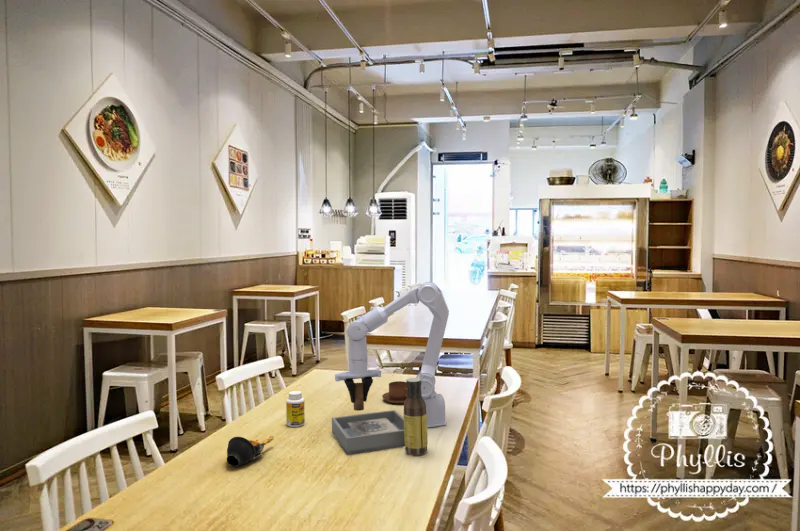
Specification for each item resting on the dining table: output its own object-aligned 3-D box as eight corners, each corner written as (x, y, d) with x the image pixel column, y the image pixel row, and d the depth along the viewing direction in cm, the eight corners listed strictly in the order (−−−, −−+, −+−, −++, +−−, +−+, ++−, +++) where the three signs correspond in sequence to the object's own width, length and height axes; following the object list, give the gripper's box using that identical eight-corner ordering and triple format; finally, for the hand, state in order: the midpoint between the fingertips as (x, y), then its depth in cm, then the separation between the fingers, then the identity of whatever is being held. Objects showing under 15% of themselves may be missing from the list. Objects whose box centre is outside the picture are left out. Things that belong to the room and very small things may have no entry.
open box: (394, 424, 166) (394, 410, 166) (416, 444, 149) (416, 428, 149) (331, 432, 159) (331, 417, 159) (347, 455, 143) (346, 438, 142)
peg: (362, 406, 170) (361, 382, 170) (365, 409, 167) (364, 384, 167) (352, 408, 169) (352, 383, 169) (355, 411, 166) (354, 385, 166)
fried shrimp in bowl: (212, 453, 134) (242, 415, 148) (232, 482, 136) (260, 442, 151) (236, 446, 131) (264, 407, 146) (256, 475, 134) (282, 435, 148)
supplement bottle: (290, 429, 163) (290, 396, 162) (283, 424, 167) (283, 391, 167) (307, 425, 166) (307, 393, 165) (300, 420, 170) (300, 389, 170)
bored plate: (385, 425, 162) (385, 417, 162) (399, 439, 151) (399, 430, 151) (347, 430, 158) (347, 422, 158) (358, 445, 147) (358, 436, 147)
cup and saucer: (422, 399, 193) (421, 382, 193) (404, 408, 183) (404, 390, 183) (394, 394, 200) (394, 378, 199) (375, 402, 189) (375, 385, 189)
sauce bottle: (420, 445, 149) (420, 375, 148) (431, 453, 143) (431, 380, 142) (400, 449, 146) (399, 377, 145) (410, 458, 140) (409, 383, 139)
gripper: (376, 354, 174) (376, 395, 174) (332, 358, 169) (333, 400, 169) (382, 358, 167) (383, 401, 168) (337, 362, 162) (338, 406, 163)
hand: (358, 401), depth 168 cm, fingers closed on peg, 3 cm apart
